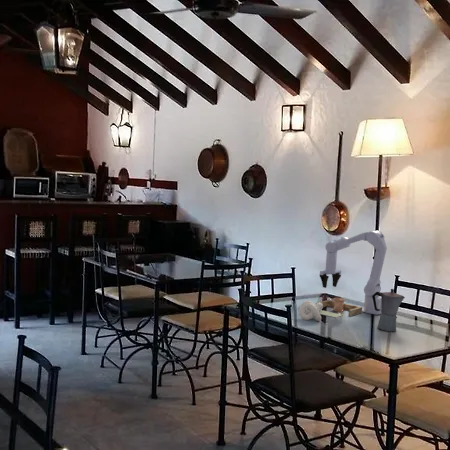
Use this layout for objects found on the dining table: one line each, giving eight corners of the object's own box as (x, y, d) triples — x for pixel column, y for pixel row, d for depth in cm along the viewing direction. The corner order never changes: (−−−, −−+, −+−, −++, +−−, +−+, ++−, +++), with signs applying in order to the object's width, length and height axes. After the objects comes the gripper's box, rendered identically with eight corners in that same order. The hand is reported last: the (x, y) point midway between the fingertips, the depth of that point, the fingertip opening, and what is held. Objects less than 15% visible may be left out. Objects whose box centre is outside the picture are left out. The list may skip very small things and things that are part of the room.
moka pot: (404, 333, 295) (408, 291, 293) (372, 331, 295) (375, 289, 293) (399, 327, 304) (402, 287, 302) (367, 325, 305) (371, 285, 303)
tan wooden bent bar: (361, 312, 332) (362, 307, 332) (350, 316, 323) (351, 310, 322) (327, 305, 346) (327, 300, 345) (315, 308, 336) (315, 303, 336)
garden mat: (343, 315, 324) (343, 314, 324) (335, 317, 318) (335, 317, 318) (319, 310, 333) (319, 309, 333) (312, 312, 326) (312, 311, 326)
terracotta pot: (345, 310, 334) (346, 299, 334) (340, 312, 330) (341, 300, 329) (336, 308, 338) (337, 297, 337) (331, 310, 334) (332, 298, 333)
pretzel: (328, 323, 306) (329, 305, 305) (305, 323, 303) (307, 305, 302) (318, 317, 317) (319, 300, 316) (296, 317, 313) (297, 300, 312)
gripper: (335, 261, 354) (333, 284, 355) (316, 262, 346) (315, 286, 347) (344, 263, 348) (342, 287, 349) (325, 264, 340) (323, 288, 341)
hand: (329, 287), depth 348 cm, fingers open, 7 cm apart
